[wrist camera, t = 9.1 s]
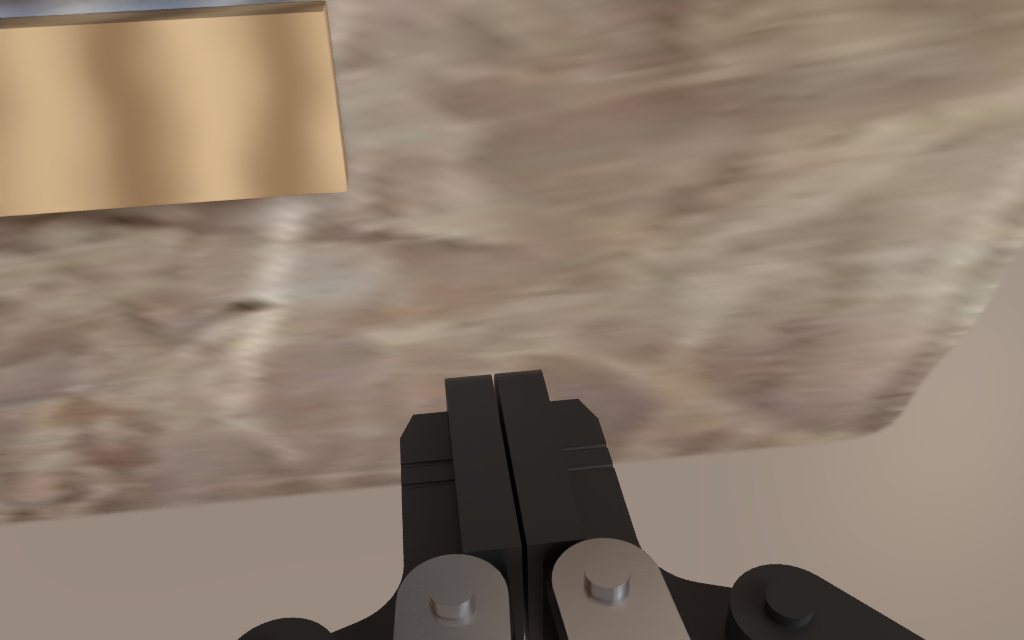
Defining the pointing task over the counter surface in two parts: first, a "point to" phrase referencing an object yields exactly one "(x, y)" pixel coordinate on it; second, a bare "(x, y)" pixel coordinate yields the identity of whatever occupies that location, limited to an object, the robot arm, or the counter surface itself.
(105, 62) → the oak plank
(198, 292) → the counter surface
